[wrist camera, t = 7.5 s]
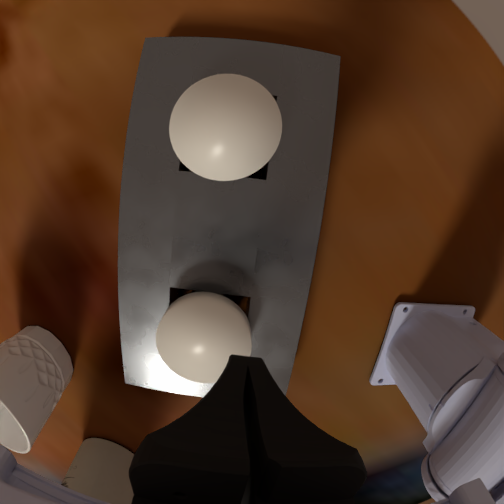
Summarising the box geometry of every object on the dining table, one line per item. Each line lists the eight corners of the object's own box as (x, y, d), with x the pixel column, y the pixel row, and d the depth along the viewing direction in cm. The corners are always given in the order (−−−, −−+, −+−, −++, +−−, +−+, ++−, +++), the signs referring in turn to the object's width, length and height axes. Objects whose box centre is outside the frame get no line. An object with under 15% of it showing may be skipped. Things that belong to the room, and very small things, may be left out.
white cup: (36, 385, 24) (-10, 442, 14) (6, 320, 22) (-55, 368, 13) (91, 390, 24) (47, 462, 14) (60, 317, 22) (-7, 379, 12)
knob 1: (278, 102, 18) (288, 80, 14) (267, 184, 20) (274, 187, 15) (193, 94, 18) (178, 70, 13) (182, 175, 19) (162, 175, 15)
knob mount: (328, 70, 18) (340, 56, 15) (279, 380, 24) (283, 404, 21) (157, 53, 17) (145, 37, 15) (136, 362, 23) (125, 383, 20)
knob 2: (255, 278, 21) (257, 308, 16) (245, 347, 23) (245, 387, 18) (174, 268, 21) (155, 295, 16) (172, 337, 22) (156, 375, 17)
